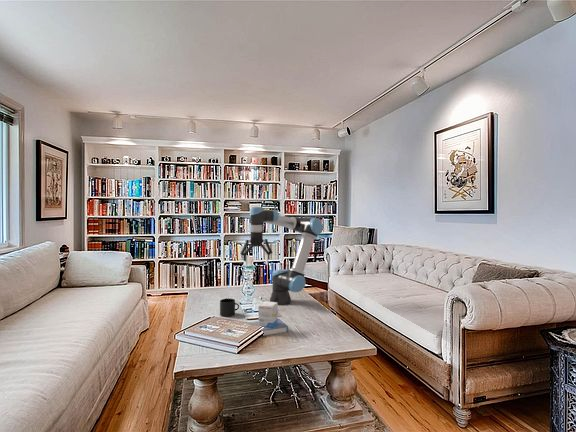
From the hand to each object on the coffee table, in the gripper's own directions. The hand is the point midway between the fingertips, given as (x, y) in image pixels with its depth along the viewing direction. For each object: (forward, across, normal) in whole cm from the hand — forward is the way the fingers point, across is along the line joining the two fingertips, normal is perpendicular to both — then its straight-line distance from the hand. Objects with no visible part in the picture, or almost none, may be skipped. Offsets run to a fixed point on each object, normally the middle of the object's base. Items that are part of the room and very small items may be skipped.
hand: (256, 265), depth 200 cm
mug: (+32, +15, -9) cm, 36 cm away
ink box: (+29, +1, +25) cm, 38 cm away
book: (+32, +1, +25) cm, 41 cm away
